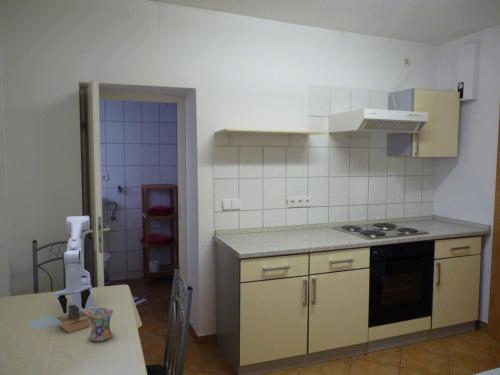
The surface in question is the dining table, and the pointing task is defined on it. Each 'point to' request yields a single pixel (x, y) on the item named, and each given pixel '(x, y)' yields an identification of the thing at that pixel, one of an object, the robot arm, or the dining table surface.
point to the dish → (75, 326)
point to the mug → (100, 324)
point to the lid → (73, 316)
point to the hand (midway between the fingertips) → (74, 310)
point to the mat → (44, 322)
